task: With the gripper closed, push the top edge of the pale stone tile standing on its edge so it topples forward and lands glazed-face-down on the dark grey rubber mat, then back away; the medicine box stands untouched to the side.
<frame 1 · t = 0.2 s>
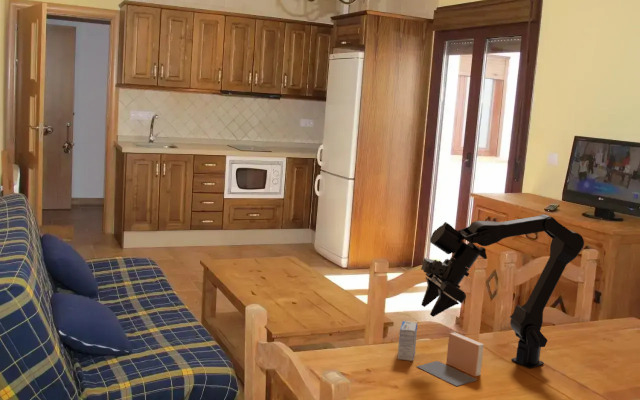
hand: (427, 310, 184), 15 cm above the table, tool tilted 30°, fingers open, 9 cm apart
grey mat: (446, 373, 180), on the table
medicine box: (406, 356, 191), on the table
tile: (463, 369, 184), on the table
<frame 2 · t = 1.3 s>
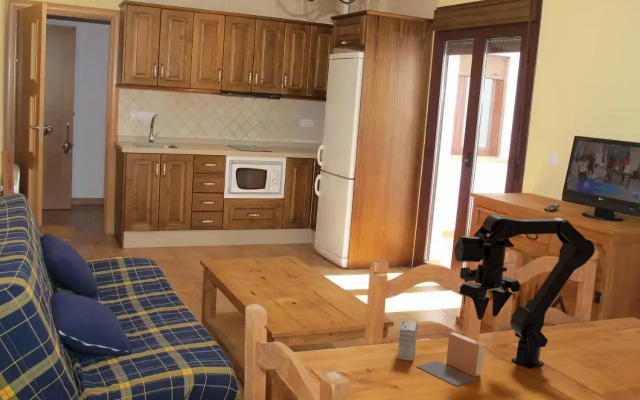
hand: (487, 317, 186), 13 cm above the table, tool pointing down, fingers open, 6 cm apart
nothing on the table moved.
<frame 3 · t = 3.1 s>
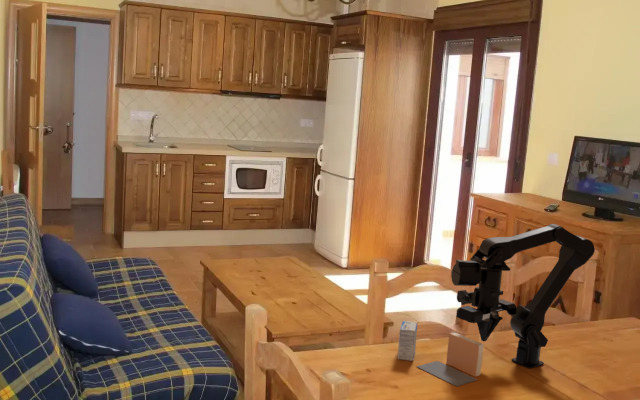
hand: (483, 340, 187), 7 cm above the table, tool pointing down, fingers closed
nothing on the table moved.
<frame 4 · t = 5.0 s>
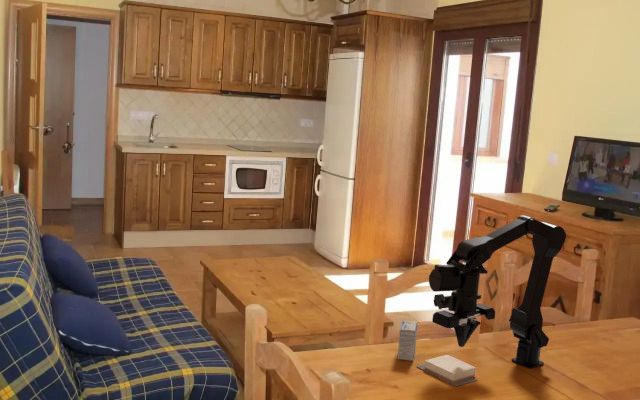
hand: (461, 346, 182), 7 cm above the table, tool pointing down, fingers closed
tile: (460, 364, 183), point 1 cm above the table, tilted 90°, touching grey mat
everything else where it was.
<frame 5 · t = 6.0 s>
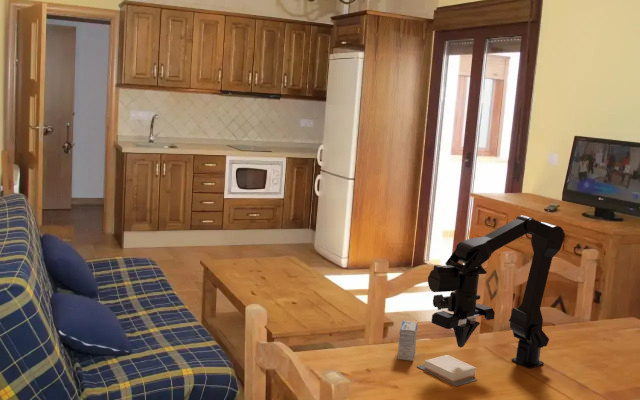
hand: (460, 346, 181), 6 cm above the table, tool pointing down, fingers closed
nothing on the table moved.
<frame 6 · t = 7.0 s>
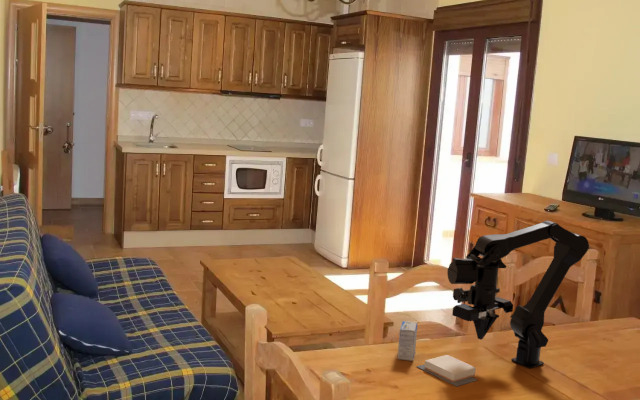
hand: (480, 338, 186), 7 cm above the table, tool pointing down, fingers closed
nothing on the table moved.
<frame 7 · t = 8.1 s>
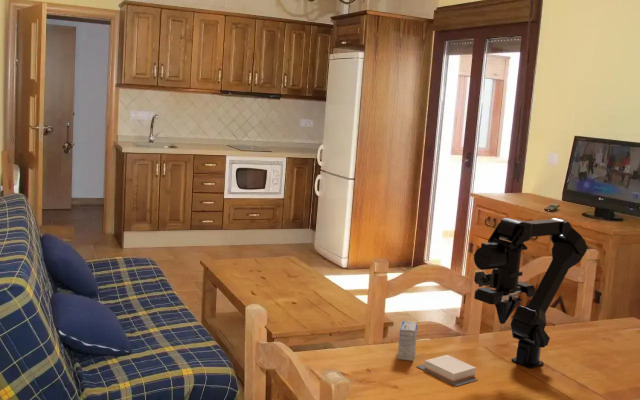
hand: (502, 323, 183), 13 cm above the table, tool pointing down, fingers closed
nothing on the table moved.
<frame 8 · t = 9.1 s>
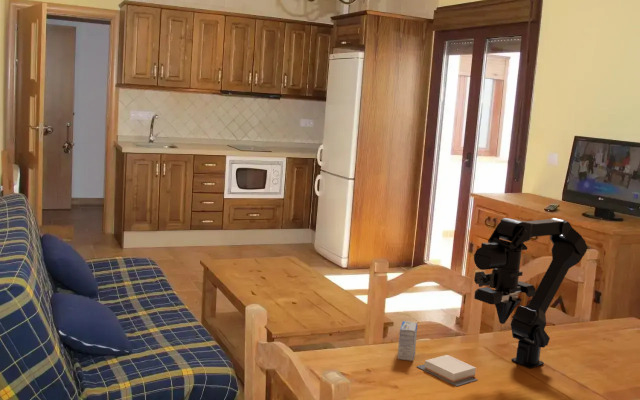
hand: (502, 323, 183), 13 cm above the table, tool pointing down, fingers closed
nothing on the table moved.
at the end: tile tilted 90°; tile inside the target area (4.9 cm from its centre), point 1.3 cm above the table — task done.
